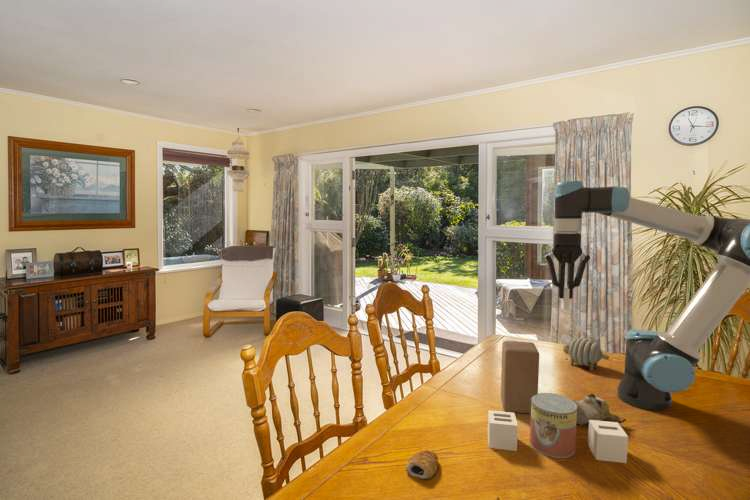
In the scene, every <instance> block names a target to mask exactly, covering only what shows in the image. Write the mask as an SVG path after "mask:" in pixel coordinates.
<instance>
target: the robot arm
mask: <svg viewBox="0 0 750 500" xmlns="http://www.w3.org/2000/svg"><path fill="white" fill-rule="evenodd" d="M583 213H585V214H586V213H587V214H588V213H593V214H594V213H596V214H599V215H602V216H607V217H610V218H614V219H616V220H620V221H625V222H627V223H631V224H634V225H638V226H641V227H645V228H649V229H652V230H656V231H659V232H663V233H667V234H670V235H673V236H677V237H680V238H684V239H688V240H691V241H692V242H693V243H694V245H697V246H699V247H702V248H703V247H704V248H707V249H709V250H711V251H713V252H717V253H716V254H715V256H716V259H717V264H716V265H715V267H714V268H713V269H712V271H710V273H709V275H707V278H706V279H705V280H704V281H703V283H702V284H701V286H700V287H699V288H698V289H697V290H696V292H695V293H694V295H693V296H692V298H691V299H690V301H688V302H687V304H686V306H685V307H683V310H682V311H681V312H680V314H679V315H678V317H677V318H676V319H675V320H674V322H673V323H672V324H671V326H670V327H669V329H668V330H667V331H665V332H661V331H655V330H648V329H647V330H646V329H632V330H631V329H630V330H628V331H627V332H626V333H627V334H626V338H625V355H624V356H625V359H624V360H625V361H624V372H623V373H624V374H623V376H622V377H621V379H620V381H619V384H618V386H617V388H616V389H617V391H616V395H617V397H618V398H619V400H621V401H623V402H624V403H626V404H628V405H630V406H633V407H637V408H641V409H644V410H651V411H665V410H669V409H671V408H672V405H673V398H672V394H671V393H680V392H683V391H685V390H687V389H688V388H690V386H691V385H692V384H693V383H694V381H695V378H696V371H695V367H696V365H697V364H698V363H699V361H701V355H700V352H699V351H700V349H701V348H702V346H703V345H704V344H705V343H706V341H707V340H708V339H709V337H710V336H711V335H712V334H713V332H714V331H715V330H716V329H717V327H718V326H719V325H720V323H722V321H723V320H724V318H725V317H726V316H727V315H728V314H729V312H730V311H731V309H732V308H733V307H734V305H735V304H736V303H737V301H738V300H739V299H740V297H741V296H742V295H743V294H744V292H745V291H746V290H747V289H748V288H749V286H750V219H747V218H726V217H719V216H717V215H716V216H714V215H713V214H708V215H705V216H701V215H698V214H695V213H691V212H688V211H687V212H686V211H683V210H679V209H675V208H672V207H670V206H669V207H668V206H666V205H665V206H664V205H661V204H657V203H654V202H653V203H652V202H650V201H645V200H641V199H638V198H634V197H630V191H629V189H628V187H626V186H616V185H615V186H597V187H596V186H595V187H589V186H588V187H586V186H584V182H583V181H582V180H563V181H558V182H557V183H556V186H555V196H554V223H553V224H554V226H553V227H554V228H553V231H554V232H555V233H554V234H553V247H552V249H551V251H550V253H548V254H544V256H543V257H544V259H545V261H546V262H547V266H548V270H549V275H550V279H551V284H552V285H553V286H554V287H558V293H557V294H558V298H560V299H561V309H562V310H564V311H565V310H566V311H568V310H570V299H571V300H572V299H573V298H574V297H573V293H574V288H576V287H577V288H578V287H580V286H581V283H582V279H583V276H584V272H585V269H586V265H587V264H588V263H589V260H590V259H591V256H590V255H587V254H585V253H584V252H583V250H582V234H581V233H580V232H582V230H583V229H582V226H583V225H582V224H583ZM554 258H555V259H556V261H558V275H557V274H556V268H555V264H554V261H553V260H554ZM578 259H579V260H580V261H579V263H578V266H577V270H576V271H575V266H576V265H575V264H576V262H577V261H578ZM566 267H567V273H566ZM566 274H567V277H566V276H565V275H566ZM557 276H558V277H557ZM566 278H567V280H566ZM565 280H566V281H565ZM565 282H566V284H565ZM565 285H566V286H565Z"/></svg>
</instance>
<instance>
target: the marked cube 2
mask: <svg viewBox="0 0 750 500" xmlns="http://www.w3.org/2000/svg"><path fill="white" fill-rule="evenodd" d="M587 434H588V435H587V446H588V447H589V449H590V451H591V453H592V455H593V457H594V459H595V461H597V460H598V461H603V462H614V463H622V464H627V460H628V445H629V436H628V434H627V433H626V431H625V430H624V428H622V426H621V425H620V424H619V423H618V422H608V421H597V420H589V422H588V433H587Z"/></svg>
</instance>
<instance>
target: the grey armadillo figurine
mask: <svg viewBox="0 0 750 500" xmlns="http://www.w3.org/2000/svg"><path fill="white" fill-rule="evenodd" d="M562 351H563V352H564V354H566V355H568V356H569V358H570V363H569V364H570V365H571V366H574V364H575V363H577V364H578V365H580V366H583V367H584V366H586V367H589V370H590V371H594V368H597V367H598V363H599V362H600V361H601V360H602V359H604V360H609V359H610V356H609V355H606V354H604V353H603V352H602V349H601V347H600V345H599V344H598V343H595V342H594V341H593V340H589V339H588V338H574V339H572V340H571V341H570V342H567V343H565V345H564V346H563V349H562Z"/></svg>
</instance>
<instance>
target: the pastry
mask: <svg viewBox="0 0 750 500" xmlns="http://www.w3.org/2000/svg"><path fill="white" fill-rule="evenodd" d="M438 459H439V457H438V455H437V453H435V452H433V451H431V450H427V449H426V450H423V451H422V450H421V451H419V452H416V453H415V454H413V455H412V456H411V457H410V458H408V460H407V465H406V466H405V472H406V474H408V475H409V476H411V477H414V478H420V479H422V480H427V479H428V480H429V479H431V478H433V477H434V475H435V474H436V471H437V470H438V464H439V463H438V461H439V460H438Z"/></svg>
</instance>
